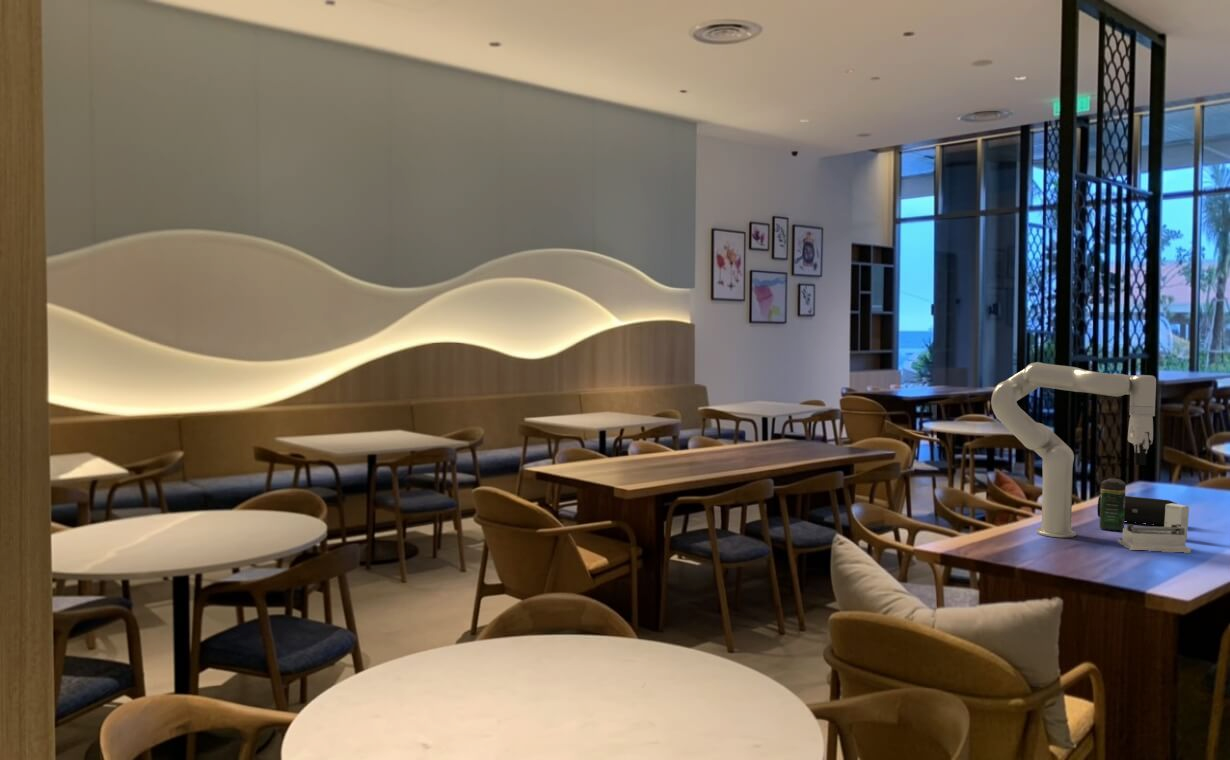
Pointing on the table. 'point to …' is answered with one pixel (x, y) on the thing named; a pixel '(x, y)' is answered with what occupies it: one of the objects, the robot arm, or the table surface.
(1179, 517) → the skincare box
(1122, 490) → the coffee jar
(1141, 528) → the strap
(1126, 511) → the portable speaker
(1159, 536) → the block
